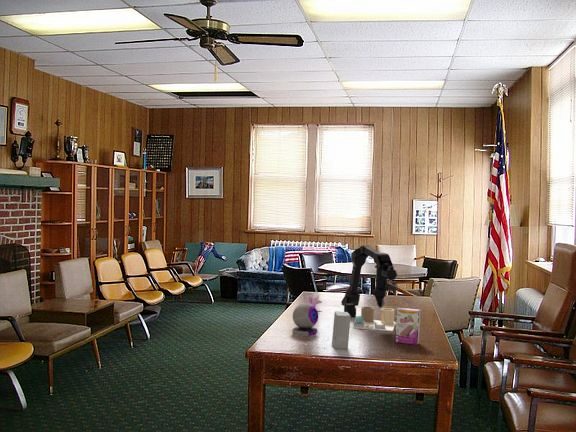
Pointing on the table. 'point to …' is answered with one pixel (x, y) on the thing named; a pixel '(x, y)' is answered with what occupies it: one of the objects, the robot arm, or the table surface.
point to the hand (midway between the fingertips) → (380, 306)
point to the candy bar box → (407, 326)
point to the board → (371, 324)
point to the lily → (312, 300)
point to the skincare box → (341, 330)
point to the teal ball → (359, 319)
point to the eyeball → (305, 319)
